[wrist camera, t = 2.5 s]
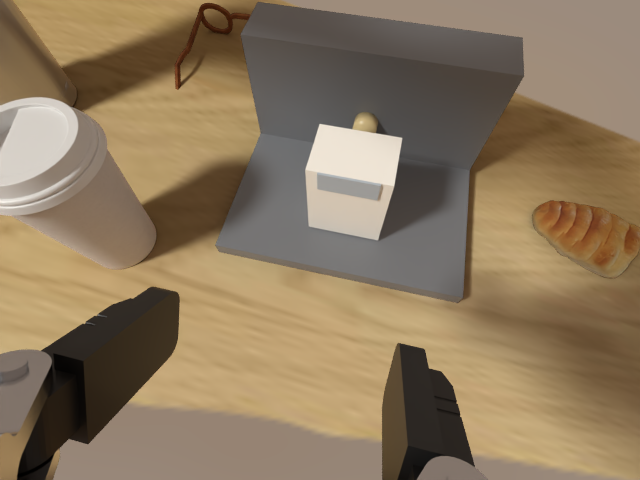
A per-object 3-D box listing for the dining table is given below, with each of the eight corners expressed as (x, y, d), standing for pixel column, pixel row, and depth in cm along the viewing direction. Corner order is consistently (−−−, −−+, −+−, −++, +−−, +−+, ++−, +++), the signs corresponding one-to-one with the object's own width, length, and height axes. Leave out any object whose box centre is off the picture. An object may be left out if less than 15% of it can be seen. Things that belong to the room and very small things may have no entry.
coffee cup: (111, 192, 40) (8, 76, 27) (188, 215, 39) (118, 106, 26) (57, 267, 36) (-97, 174, 23) (140, 296, 35) (28, 215, 22)
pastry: (518, 240, 38) (537, 221, 34) (538, 195, 40) (557, 174, 37) (612, 286, 35) (643, 271, 32) (626, 235, 38) (656, 216, 35)
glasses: (292, 43, 53) (289, 8, 49) (269, 106, 47) (264, 73, 43) (206, 32, 54) (196, -3, 50) (174, 92, 48) (159, 58, 44)
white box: (308, 228, 36) (304, 171, 28) (320, 186, 39) (319, 123, 31) (377, 242, 36) (393, 188, 28) (385, 199, 38) (402, 137, 30)
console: (219, 251, 37) (170, 167, 25) (274, 112, 46) (257, 1, 34) (457, 302, 34) (530, 236, 22) (466, 145, 43) (522, 37, 31)
